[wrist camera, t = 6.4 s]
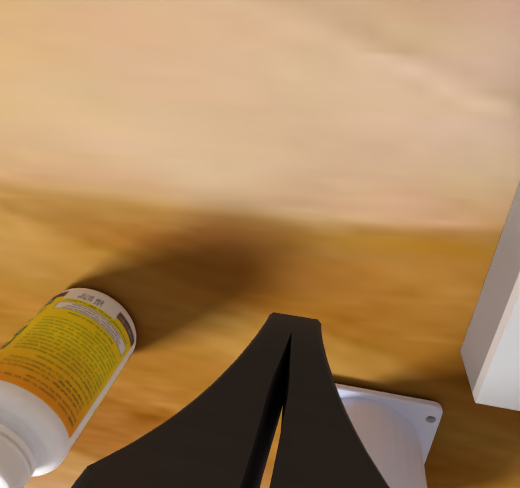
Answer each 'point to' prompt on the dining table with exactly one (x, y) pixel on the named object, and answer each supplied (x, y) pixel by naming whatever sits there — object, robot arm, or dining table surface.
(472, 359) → the keypad base
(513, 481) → the dining table surface
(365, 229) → the dining table surface
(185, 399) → the dining table surface
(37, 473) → the supplement bottle
